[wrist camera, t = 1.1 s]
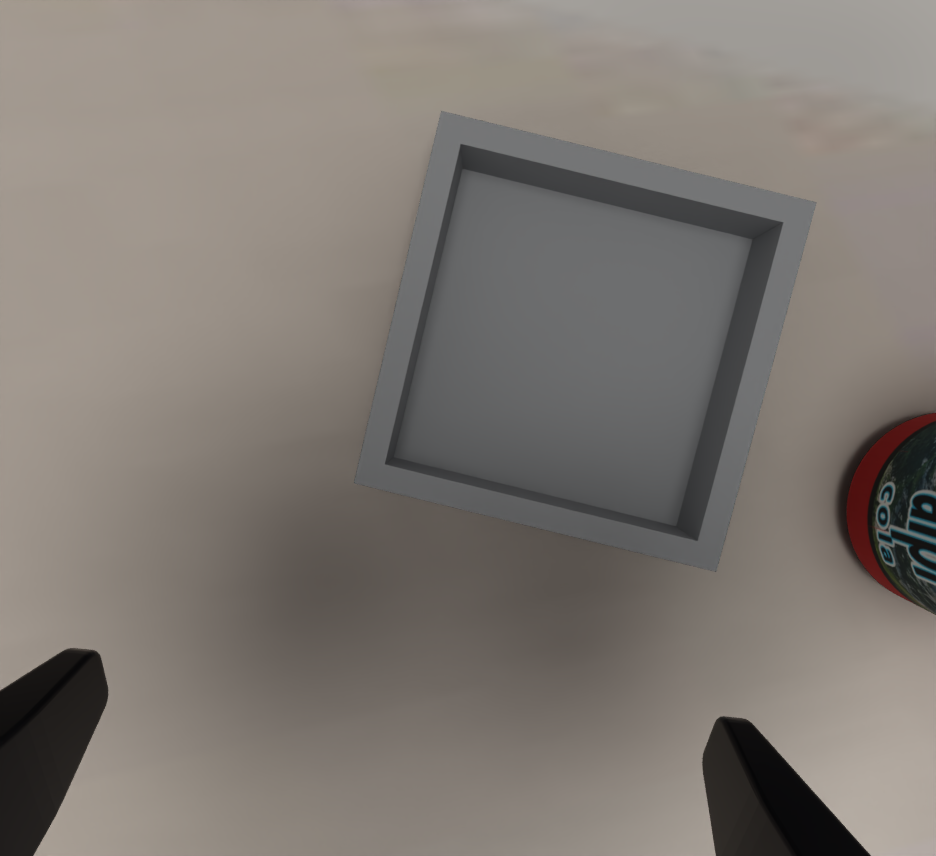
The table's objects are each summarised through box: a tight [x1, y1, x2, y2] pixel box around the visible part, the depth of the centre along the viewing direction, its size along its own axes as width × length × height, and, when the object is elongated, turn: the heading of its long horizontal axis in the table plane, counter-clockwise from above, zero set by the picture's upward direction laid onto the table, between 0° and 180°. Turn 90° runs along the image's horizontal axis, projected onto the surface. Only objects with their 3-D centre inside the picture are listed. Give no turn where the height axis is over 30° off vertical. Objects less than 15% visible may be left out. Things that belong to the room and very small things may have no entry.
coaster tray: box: [354, 111, 816, 572], centre depth 21 cm, size 12×12×3 cm
